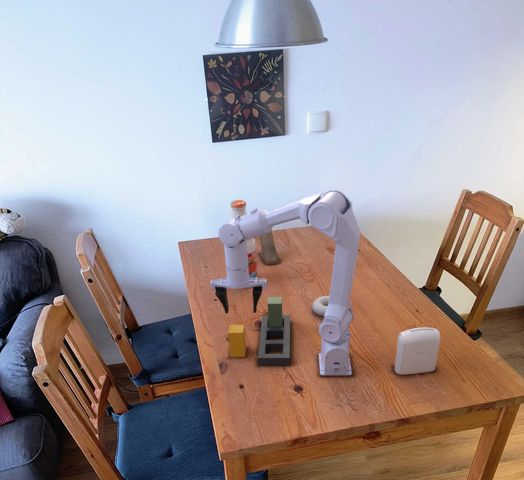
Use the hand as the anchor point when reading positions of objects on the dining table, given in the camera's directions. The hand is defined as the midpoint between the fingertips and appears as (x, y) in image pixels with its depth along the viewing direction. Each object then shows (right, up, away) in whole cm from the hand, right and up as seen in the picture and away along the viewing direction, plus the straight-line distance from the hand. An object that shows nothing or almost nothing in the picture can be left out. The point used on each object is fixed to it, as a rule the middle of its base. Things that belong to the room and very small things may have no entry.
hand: (241, 311), depth 131 cm
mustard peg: (-1, -11, +2) cm, 12 cm away
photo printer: (+45, -16, -8) cm, 48 cm away
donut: (+26, +1, +18) cm, 32 cm away
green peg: (+10, -5, +11) cm, 15 cm away
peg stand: (+10, -8, +5) cm, 14 cm away
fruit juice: (0, +13, +37) cm, 40 cm away
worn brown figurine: (+9, +24, +52) cm, 58 cm away
